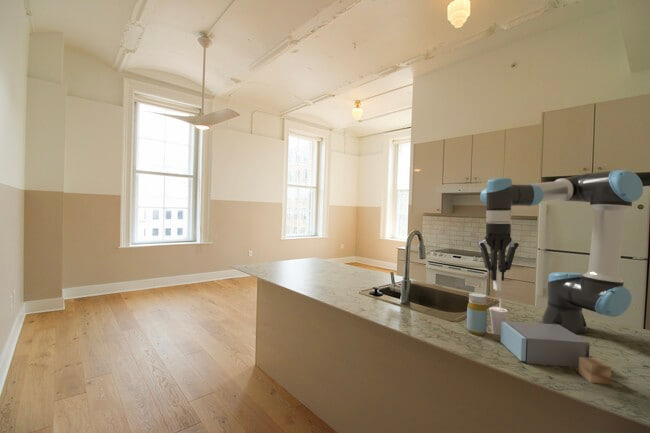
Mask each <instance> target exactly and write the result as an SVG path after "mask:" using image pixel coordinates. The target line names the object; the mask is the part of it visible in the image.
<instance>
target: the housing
mask: <svg viewBox="0 0 650 433" xmlns="http://www.w3.org/2000/svg"><path fill="white" fill-rule="evenodd" d="M505 322H506V323H507V324H509V325H510V326H511V327H512V328H514V329H515V330H516V331H518V332H519V333H520V334H521V335H523V336H524V337H525V338H526V361H524V362H525V363H526V364H534V365H546V366H547V365H548V366H559V367H560V366H561V367H573V368H579V357H588V358H590V344H591V343H590V341H589V340H588V341H587V340H586V339H584V338H583V337H580V336H579V335H577V333H572V332H571V331H569V330H567V329H566V328H564V327H562V326H560V325H558V324H543V323H542V322H541V323H540V322H527V321H526V322H522V321H511V320H509V321H507V320H506V321H505Z"/></svg>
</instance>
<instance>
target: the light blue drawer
mask: <svg viewBox="0 0 650 433" xmlns="http://www.w3.org/2000/svg"><path fill="white" fill-rule="evenodd" d="M500 343H502V345H503V346H504V347H505V348H507V350H509V351H510V352H511V353H512V354H513V355H514V356H515V357H516V358H517V359H518V360H520V361H521V362H525V361H526V338H525V337H524V336H523V335H521V334H520V333H519V332H518V331H516V330H515V329H514V328H512V327H511V326H510V325H509V324H507V323H506V321H505V322H501V335H500Z"/></svg>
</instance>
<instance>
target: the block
mask: <svg viewBox="0 0 650 433" xmlns="http://www.w3.org/2000/svg"><path fill="white" fill-rule="evenodd" d="M577 372H578V374H579V375H580V376H582V377H583V378H584V379H586V380H587V381H588V382H589V383H593V384H602V385H603V384H604V385H611V376H612V375H611V374H612V366H611V365H609V364H607V363H606V362H605V361H603V360H602V359H599V358H597V357H589V358H588V357H579V367H578V371H577Z"/></svg>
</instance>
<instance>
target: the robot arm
mask: <svg viewBox="0 0 650 433" xmlns="http://www.w3.org/2000/svg"><path fill="white" fill-rule="evenodd" d="M512 181H513V180H512V179H511V178H510V177H509V178H508V177H497V178H489V179H488V180H487V183H486V188H484V189H482V190H481V192H480V196H479V198H480V202H481V203H482V204H483V205H484V206H486V212H485V214H486V218H485V221H486V222H487V223H486V224H485V234H486V235H485V237H484V239H483V240H482V241H479V242H477V245H478V247H479V248H480V251H481V256H482V259H483V260H482V261H483V264H484V268H485V269H487V270H489V271H490V279H491V281H493V290H494V291H497V292H502V282H504V281H505V273H506V272H507V271H510V270H511V268H512V265H513V261H514V257H515V253H516V250H517V249H518V247H519V246H520V244H519V243H518V242H515V241H514V240H512V239H513V238H512V237H511V232H512V231H511V229H512V225H511V222H512V207H519V206H520V207H521V206H522V207H531V206H533V207H534V206H538V205H539V204H541V203H542V202H546V201H547V202H548V201H554V200H555V201H558V202H581V203H589V206H590V207H591V208H592V210H593V211H594V212H593V221H592V230H591V240H590V250H589V258H588V259H589V260H588V269H587V271H586V272H585V273H578V272H567V271H566V272H562V271H560V272H559V271H558V272H556V271H555V272H551V273H550V274H549V275H548V281H547V306H546V308H545V310H544V312H543V314H542V316H541V323H542V324H558V325H560V326H562V327H564V328H566V329H567V330H569V331H571V332H572V333H574V334H585V333H588V325H587V322H586V319H585V316H584V314H583V309H584V310H586V311H587V310H588V311H590V312H593V313H596V314H599V315H604V316H608V317H610V318H611V317H612V318H616V317H620V316H622V315H623V314H624V313H625V312H626V311H628V309H629V308H630V305H631V304H632V299H633V298H632V294H631V292H630V289H628V288H626V287H624V282H625V281H624V280H623V279H622V278H621V277H620V265H621V255H622V246H623V237H624V228H625V227H624V226H625V218H626V217H625V216H626V212H627V211H628V210H630V209H632V206H633V203H634V202H636V201H639V200H640V199H641V197H642V196H643V192H644V185H643V182H642V180H641V178H640V176H639V175H638V174H637V173H635V172H634V171H632V170H627V169H625V170H624V169H619V170H618V169H617V170H615V169H613V170H609V171H599V172H590V173H583V174H579V175H574V176H569V177H562V178H557V179H555V180H554V181H545V182H537V183H536V182H535V183H524V184H514V183H513V182H512ZM487 246H488V247H489V248H490V249H489V252H490V256H489V252H488V248H487ZM508 246H509V247H508ZM507 247H508V249H507ZM506 252H507V254H506Z"/></svg>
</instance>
